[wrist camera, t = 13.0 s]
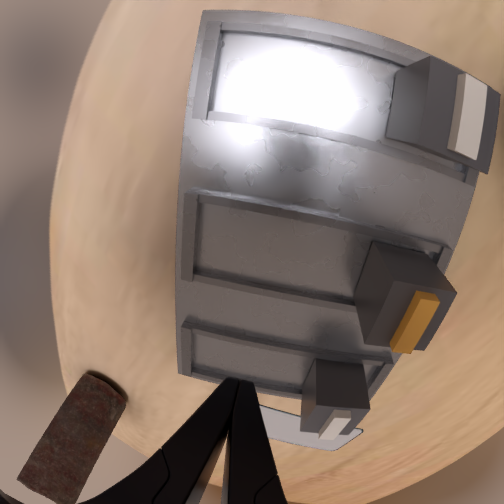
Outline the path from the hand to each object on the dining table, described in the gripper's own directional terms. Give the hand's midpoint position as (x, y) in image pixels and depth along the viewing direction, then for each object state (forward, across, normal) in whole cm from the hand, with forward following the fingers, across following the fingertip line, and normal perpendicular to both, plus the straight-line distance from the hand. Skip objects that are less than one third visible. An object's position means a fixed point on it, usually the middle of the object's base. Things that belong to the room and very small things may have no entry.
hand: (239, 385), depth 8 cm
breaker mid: (+10, -8, 0) cm, 13 cm away
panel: (+12, -3, 0) cm, 12 cm away
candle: (+12, +18, +26) cm, 34 cm away
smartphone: (+13, -8, +24) cm, 28 cm away
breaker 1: (+10, -7, +10) cm, 16 cm away
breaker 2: (+10, -7, -10) cm, 16 cm away
